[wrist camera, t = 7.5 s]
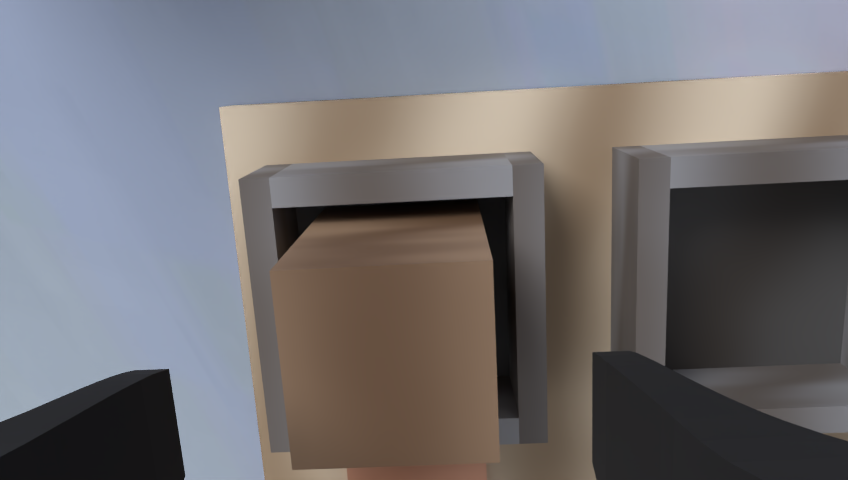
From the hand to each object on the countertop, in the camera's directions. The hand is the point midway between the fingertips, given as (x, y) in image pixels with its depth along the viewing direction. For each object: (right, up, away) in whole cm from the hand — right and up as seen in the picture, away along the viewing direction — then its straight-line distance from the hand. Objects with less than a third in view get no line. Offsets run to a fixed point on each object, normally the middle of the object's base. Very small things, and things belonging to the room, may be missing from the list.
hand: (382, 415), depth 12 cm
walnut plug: (0, +2, +7) cm, 7 cm away
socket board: (+5, +1, +8) cm, 10 cm away
